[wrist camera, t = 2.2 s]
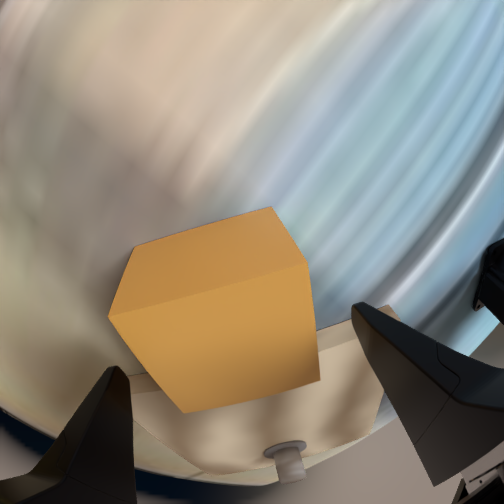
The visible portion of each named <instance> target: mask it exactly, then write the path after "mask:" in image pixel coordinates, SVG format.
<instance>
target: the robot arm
mask: <svg viewBox="0 0 504 504" xmlns="http://www.w3.org/2000/svg"><path fill="white" fill-rule="evenodd" d="M484 306H486V307H487V308H488V309H489V310H490V311H491V313H492V314H493V315H494V316H495V317H496V318H497V319H498V320H499V321H500V322H501V323H502V324H503V325H504V239H503V240H501V241H499V242H497V243H495V244H493V245H492V246H491V247H490V248H489V250H488V254H487V258H486V262H485V266H484V270H483V274H482V277H481V281H480V284H479V287H478V291H477V294H476V297H475V300H474V303H473V306H472V309H473V310H474V311H478V310H479V309H481V308H482V307H484ZM351 321H352V326H353V328H354V330H355V333H356V335H357V337H358V340H359V342H360V344H361V347H362V349H363V351H364V354H365V356H366V358H367V360H368V362H369V364H370V366H371V368H372V369H373V371H374V373H375V375H376V376H377V378H378V380H379V382H380V384H381V385H382V387H383V389H384V391H385V393H386V394H387V396H388V398H389V400H390V402H391V403H392V405H393V407H394V409H395V411H396V413H397V415H398V416H399V418H400V420H401V422H402V424H403V426H404V428H405V430H406V432H407V434H408V436H409V437H410V439H411V441H412V443H413V445H414V447H415V449H416V451H417V453H418V455H419V457H420V459H421V462H422V463H423V465H424V468H425V470H426V472H427V474H428V476H429V478H430V480H431V482H432V484H433V486H434V487H435V486H437V485H439V484H440V483H442V482H444V481H446V480H447V479H449V478H451V477H453V476H454V475H456V474H457V473H459V472H461V474H462V476H463V479H461V481H460V484H459V486H458V489H457V492H456V494H455V497H454V499H453V502H452V504H504V369H501V368H496V367H493V366H490V365H488V364H485V363H483V362H480V361H478V360H475V359H473V358H470V357H468V356H466V355H463V354H461V353H459V352H457V351H455V350H453V349H451V348H449V347H447V346H445V345H443V344H441V343H439V342H436V341H435V340H434V339H432V338H430V337H428V336H426V335H424V334H422V333H421V332H419V331H417V330H415V329H413V328H411V327H409V326H408V325H406V324H404V323H402V322H400V321H398V320H396V319H395V318H393V317H391V316H389V315H387V314H385V313H383V312H382V311H380V310H378V309H376V308H374V307H372V306H370V305H368V304H367V303H365V302H358V303H356V304H353V305H352V308H351ZM0 504H137V497H136V486H135V472H134V454H133V413H132V402H131V390H130V381H129V378H128V377H127V376H126V375H125V373H124V372H123V371H122V370H121V369H120V368H119V367H118V366H111V367H108V368H107V369H106V371H105V372H104V373H103V375H102V376H101V377H100V379H99V380H98V381H97V383H96V384H95V385H94V387H93V388H92V390H91V391H90V392H89V394H88V395H87V396H86V398H85V399H84V401H83V402H82V403H81V405H80V406H79V408H78V409H77V410H76V412H75V413H74V415H73V416H72V418H71V419H70V420H69V422H68V423H67V425H66V426H65V428H64V430H62V432H61V433H60V435H59V436H58V438H57V439H56V441H55V442H54V443H53V445H52V446H51V447H50V449H49V450H48V451H47V453H46V454H45V455H44V456H43V457H42V459H41V460H40V461H39V462H38V464H37V465H36V466H35V467H34V468H33V470H31V471H30V472H29V473H27V474H24V475H21V476H17V477H13V478H9V479H5V480H0Z"/></svg>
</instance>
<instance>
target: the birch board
mask: <svg viewBox="0 0 504 504" xmlns="http://www.w3.org/2000/svg"><path fill="white" fill-rule="evenodd" d="M378 310H380V311H382V312H383V313H385V314H387V315H389V316H391V317H393V318H395V319H396V320H398V321H401V320H400V318H399V317H398V316H397V315H396V313H395V312H394V311H393V310H392V308H391V307H390V306H389V305H386V306H384V307H381V308H379V309H378ZM316 335H317V345H318V355H319V367H320V378H321V380H320V381H317V382H314V383H311V384H308V385H305V386H302V387H299V388H295V389H292V390H289V391H285V392H282V393H278V394H274V395H271V396H267V397H263V398H259V399H255V400H251V401H247V402H242V403H238V404H233V405H229V406H224V407H219V408H214V409H208V410H203V411H197V412H190V413H183V412H182V411H181V410H180V409H179V408H178V407H177V406H176V405H175V403H174V402H173V401H172V400H171V399H170V398H169V397H168V396H167V394H166V393H165V392H164V391H163V390H162V389H161V387H160V386H159V385H158V384H157V383H156V381H155V380H154V379H153V378H152V377H151V375H150V374H149V373H145V374H138V375H132V376H127V377H128V378H129V381H130V390H131V402H132V413H133V419H134V420H135V421H136V422H137V423H138V424H139V425H141V426H142V427H143V428H144V429H145V430H147V431H148V432H149V433H150V434H152V435H153V436H154V437H155V438H157V439H158V440H159V441H161V442H162V443H163V444H165V445H166V446H167V447H169V448H170V449H171V450H173V451H174V452H175V453H177V454H178V455H180V456H181V457H183V458H184V459H185V460H187V461H188V462H190V463H191V464H193V465H194V466H196V467H198V468H199V469H201V470H202V471H204V472H205V473H207V474H209V475H210V476H216V475H224V474H231V473H237V472H243V471H249V470H254V469H259V468H264V467H269V466H273V465H276V469H277V473H278V477H279V481H280V483H281V484H288V483H293V482H297V481H300V480H303V479H305V478H306V477H307V475H306V472H305V469H304V465H303V462H302V458H304V457H308V456H311V455H314V454H317V453H321V452H324V451H327V450H330V449H332V448H335V447H338V446H341V445H344V444H346V443H349V442H352V441H354V440H357V439H359V438H362V437H364V436H366V435H369V434H370V432H371V429H372V426H373V423H374V421H375V418H376V415H377V412H378V409H379V405H380V402H381V399H382V396H383V392H384V389H383V387H382V385H381V384H380V382H379V380H378V378H377V376H376V375H375V373H374V371H373V369H372V368H371V366H370V364H369V362H368V360H367V358H366V356H365V354H364V351H363V349H362V347H361V344H360V342H359V340H358V337H357V335H356V333H355V330H354V328H353V326H352V321H351V319H350V320H347V321H344V322H342V323H339V324H336V325H333V326H330V327H327V328H324V329H321V330H318V331H316Z"/></svg>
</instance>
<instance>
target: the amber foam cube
mask: <svg viewBox="0 0 504 504" xmlns="http://www.w3.org/2000/svg"><path fill="white" fill-rule="evenodd" d="M108 318H109V319H110V321H111V322H112V324H113V325H114V327H115V328H116V330H117V331H118V333H119V334H120V336H121V337H122V338H123V340H124V341H125V343H126V344H127V345H128V347H129V348H130V349H131V351H132V352H133V353H134V355H135V356H136V357H137V359H138V360H139V361H140V363H141V364H142V365H143V367H144V368H145V369H146V370H147V372H148V373H149V374H150V375H151V377H152V378H153V379H154V380H155V381H156V383H157V384H158V385H159V386H160V387H161V389H162V390H163V391H164V392H165V393H166V394H167V396H168V397H169V398H170V399H171V400H172V401H173V402H174V403H175V405H176V406H177V407H178V408H179V409H180V410H181V411H182V412H183V413H190V412H197V411H203V410H208V409H214V408H219V407H224V406H229V405H233V404H238V403H242V402H247V401H251V400H255V399H259V398H263V397H267V396H271V395H274V394H278V393H282V392H285V391H289V390H292V389H295V388H299V387H302V386H305V385H308V384H311V383H314V382H317V381H320V380H321V378H320V367H319V355H318V345H317V335H316V326H315V317H314V308H313V300H312V292H311V284H310V277H309V269H308V262H307V261H306V259H305V258H304V256H303V255H302V253H301V251H300V250H299V248H298V247H297V245H296V244H295V242H294V240H293V239H292V237H291V236H290V234H289V233H288V231H287V230H286V228H285V227H284V225H283V223H282V222H281V220H280V219H279V217H278V216H277V214H276V213H275V211H274V210H273V208H272V207H268V208H264V209H260V210H257V211H253V212H249V213H246V214H242V215H238V216H235V217H231V218H228V219H224V220H221V221H217V222H214V223H210V224H207V225H204V226H200V227H197V228H193V229H190V230H187V231H184V232H180V233H177V234H174V235H170V236H167V237H164V238H161V239H158V240H154V241H151V242H148V243H145V244H142V245H139V246H136V247H134V250H133V252H132V254H131V257H130V259H129V262H128V264H127V266H126V269H125V271H124V274H123V276H122V279H121V282H120V284H119V287H118V290H117V292H116V295H115V298H114V300H113V303H112V306H111V309H110V312H109V315H108Z"/></svg>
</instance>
